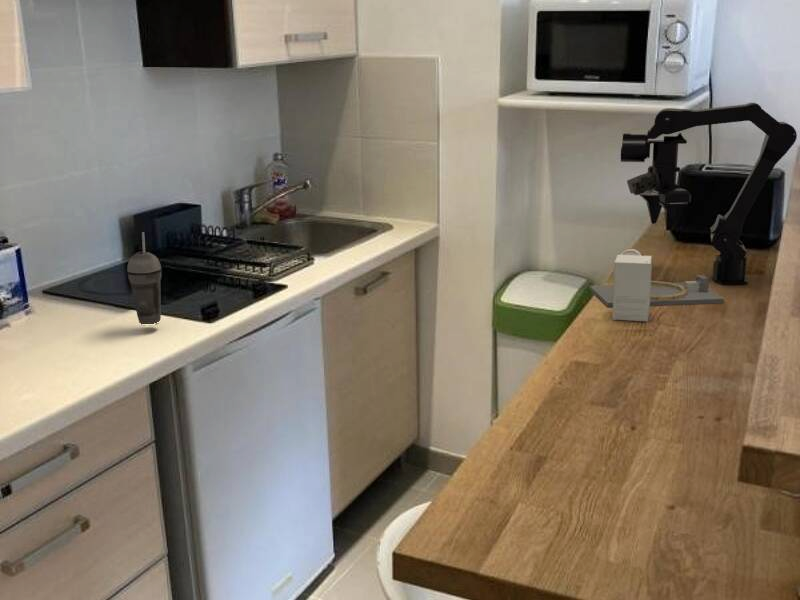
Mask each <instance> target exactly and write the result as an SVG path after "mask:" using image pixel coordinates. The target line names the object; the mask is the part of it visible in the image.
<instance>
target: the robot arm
mask: <svg viewBox="0 0 800 600" xmlns="http://www.w3.org/2000/svg"><path fill="white" fill-rule="evenodd" d="M746 121H747V122H748V121H749V122H751V123H752V124H753V125H755V126H756V127H757V128H758V129H759V130H760V131H762V132H763V133H764V134H765V135H764V139H763V142H762V145H761V149H760V152H759V156H758V158H757V160H756V162H755V164H754V165H753V167H752V169H751V170H750V173H749V174H748V176H747V178H746V179H745V181H744V184H743V186H742V187H741V189H740V191H739V192H738V194H737V196H736V198H735V200H734V202H733V204H732V205H731V207H730V208H729V210H728V211H727V212H726V214H724V216H723V215H721V214H717V217H716V220H715V222H714V224H712V226H710V228H709V229H710V239H711V244H712V247H713V248H714V249H715V250H717V251H718V252H719V254H716V255H715V261H713V265H712V268H713V269H712V275H710V276H711V279H712V280H714V281H716V282H717V283H719V284H721V285H734V284H735V285H737V284H742V285H743V284H749V281H748V280H746V274H747V273H746V272H747V271H746V270H747V260H748V257H747V250H746V248H745V245H744V244H743V243H742V241H741V240H740V237H741V234H742V231H743V227H744V223H745V220H746V218H747V216H748V215H749V213H750V211H751V209H752V207H753V205H754V204H755V201H756V200H757V198H758V196H759V194H760V193H761V191H762V189H763V187H764V185H765V184H766V181H768V179H769V176H770V174H771V173H772V172H773V169H774V168H775V166H776V165H777V164H778V162H779V161H780V160H781V159H782V158H784V156H786V154H787V153H788V151H789V150H790V149H791V148H792V147H793V145H795V142H796V140H797V136H798V135H797V131H796V128H795V127H794V126H793V125H792V124H791V125H790V124H789V123H787V122H785V121H778V120H777V119H775V118H774V117H773V116H772V115H771V114H769V113H768V112H767V111H765V110H764V109H763V108H762V106H761V105H760V104H758V103H756V102H748V103H746V104H745V103H744V104H737V105H727V106H718V107H711V108H702V109H687V108H686V109H685V108H671V107H668V108H667V107H666V108H663V109H660V110H659V111H658V112H657V114H656V115H655V118H654V122H653V125H652V127H651V128H650V129H648V130H647V133H644V134H643V133H641V134H640V133H638V134H636V133H629V132H628V133H626V132H625V133H622V141H621V142H622V143H621V147H620V162H621V163H645V161H646V160H647V159H651V144H652V145H653V147H652V163H651V165H649V166H648V167H647V172H646V173H643V174H640V175H638V176H635V177H633V178H629V179H627V181H626V182H627V186H628V189H629V193H630V194H633V195H634V196H638V195H639V196H640V197H641V198H642V199H643V200H644V201H645V203H646V206H647V209H648V216H649V219H650V223H651V224H653V225H654V224H657V222H658V219H659V218H660V214H661V210H662V208H663V210H664V224H665V225H664V226H665V230H666V231H669V232H670V231H672V229H673V227H674V226H675V224H676V222H677V220H678V218H679V217H680V216H681V214H682V212H683V210H684V209H685V208H686V206H688V203H691V201H692V194H691V193H690V191H689V190H687V189H685V188H680V184H678V183H677V173H679V172H681V167H679V166H678V160H679V159H678V157H679V145H680V144H682V145H685V144H687V142H688V140H687V139H686V138H685V137H684V136H683V135H682V133H681V132H682V131H685V130H689V129H691V128H694V127H700V126H701V127H702V126H710V125H711V126H712V125H718V124H727V123H728V124H729V123H730V124H731V123H738V122H740V123H741V122H746ZM675 133H678V134H677V135H672V134H675ZM662 135H664V136H663V140H662V139H657V138H659V137H661V136H662ZM667 135H668V136H667Z"/></svg>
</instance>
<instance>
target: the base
mask: <svg viewBox="0 0 800 600" xmlns="http://www.w3.org/2000/svg"><path fill="white" fill-rule="evenodd" d="M672 283H673V284H678V285H681V286H683V287H684V281H682V282H672ZM613 286H614V284H601V285H598V284H597V285H589V291H590V292H591V293H592V294H593V295H594V296H595V297H597V299H598V300H599V301H600V302H601V303H603V305H605V307H607V308H613ZM678 293H681V291H679V290H678V289H674V288H670V287H666V286H656V285H651V289H650V295H654V296H666V295H674V294H678ZM706 304H724V297H722V296H721V295H719V294H717V293H715V292H714V291H712V290H711V289H709V288H708V292H687V295H686V296H685V297H683V298H679V299H675V300H650V307H652V306H653V307H654V306H677V305H682V306H683V305H706Z"/></svg>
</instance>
